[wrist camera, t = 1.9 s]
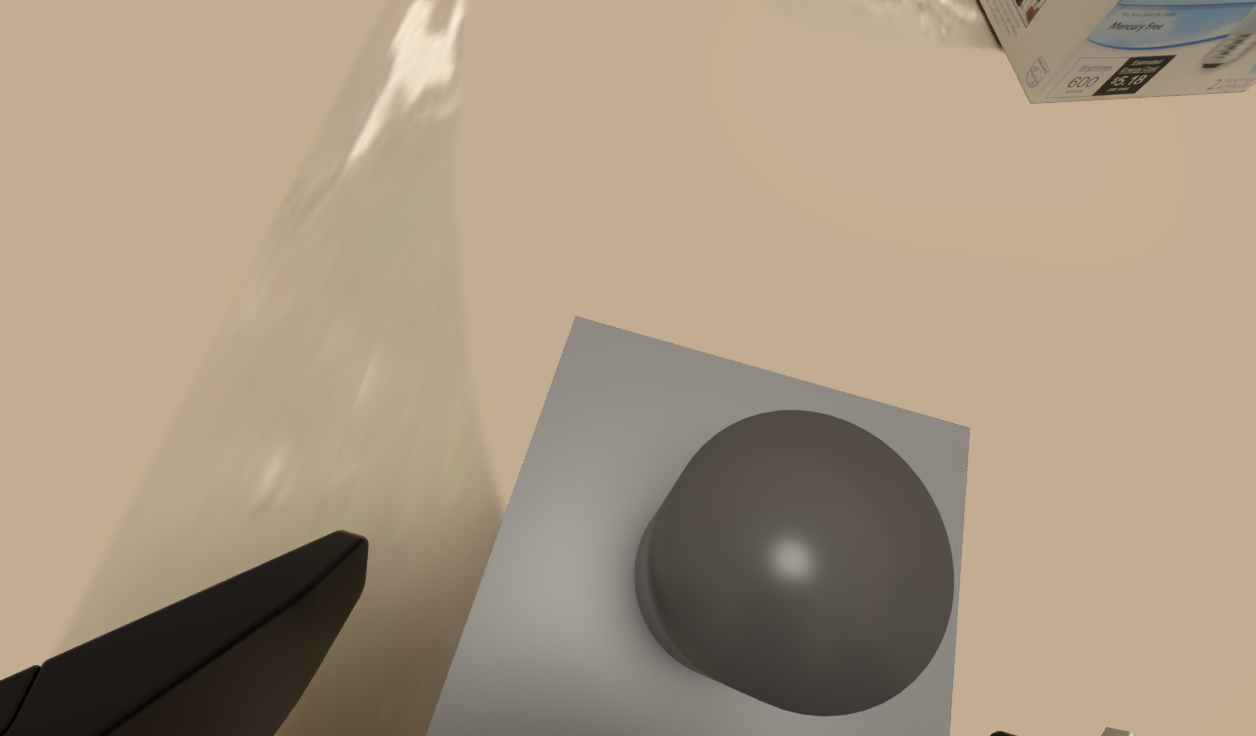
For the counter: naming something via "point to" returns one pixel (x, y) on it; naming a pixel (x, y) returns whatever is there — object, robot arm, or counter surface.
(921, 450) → the grey square bottle
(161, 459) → the counter surface
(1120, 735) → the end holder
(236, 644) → the robot arm
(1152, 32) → the light bulb box
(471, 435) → the counter surface
